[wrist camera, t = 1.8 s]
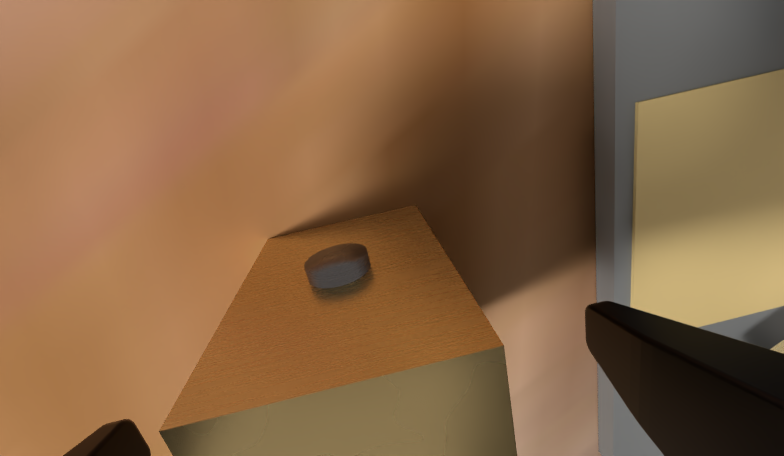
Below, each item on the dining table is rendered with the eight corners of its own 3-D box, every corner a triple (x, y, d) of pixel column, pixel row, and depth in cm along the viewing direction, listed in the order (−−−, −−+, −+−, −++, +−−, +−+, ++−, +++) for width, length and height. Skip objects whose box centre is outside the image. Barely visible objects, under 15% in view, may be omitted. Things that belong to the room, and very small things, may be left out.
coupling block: (440, 334, 11) (530, 567, 6) (313, 366, 11) (278, 636, 6) (412, 194, 10) (501, 323, 4) (264, 228, 10) (147, 412, 4)
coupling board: (847, 385, 14) (879, 404, 13) (598, 450, 14) (614, 474, 13) (1035, -259, 8) (1117, -302, 7) (590, -170, 8) (620, -203, 7)
